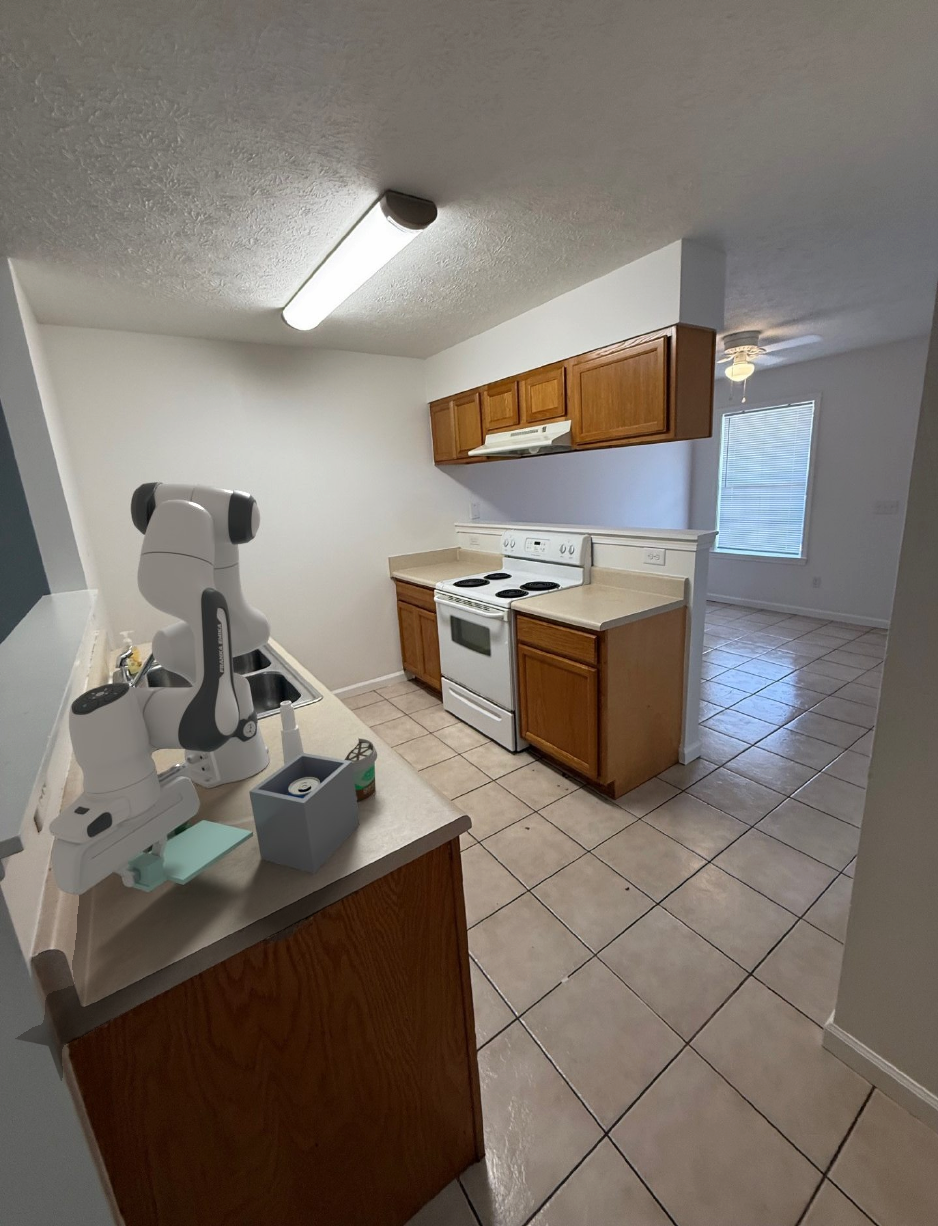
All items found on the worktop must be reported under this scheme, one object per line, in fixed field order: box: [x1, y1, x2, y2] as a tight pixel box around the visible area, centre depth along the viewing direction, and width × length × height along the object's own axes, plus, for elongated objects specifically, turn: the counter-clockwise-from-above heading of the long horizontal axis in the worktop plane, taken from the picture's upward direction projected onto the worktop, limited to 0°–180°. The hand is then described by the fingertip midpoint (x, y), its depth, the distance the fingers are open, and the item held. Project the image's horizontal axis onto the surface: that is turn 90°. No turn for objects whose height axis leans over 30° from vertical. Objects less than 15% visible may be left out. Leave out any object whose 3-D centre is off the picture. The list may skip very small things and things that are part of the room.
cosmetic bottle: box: [279, 700, 305, 766], centre depth 110 cm, size 6×6×22 cm
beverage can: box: [287, 777, 321, 799], centre depth 95 cm, size 6×6×12 cm
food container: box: [344, 738, 378, 804], centre depth 110 cm, size 12×6×10 cm, turn 168°
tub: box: [248, 752, 361, 874], centre depth 95 cm, size 12×14×14 cm
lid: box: [125, 819, 254, 893], centre depth 84 cm, size 12×17×4 cm
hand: (145, 873), depth 78 cm, fingers closed on lid, 3 cm apart
